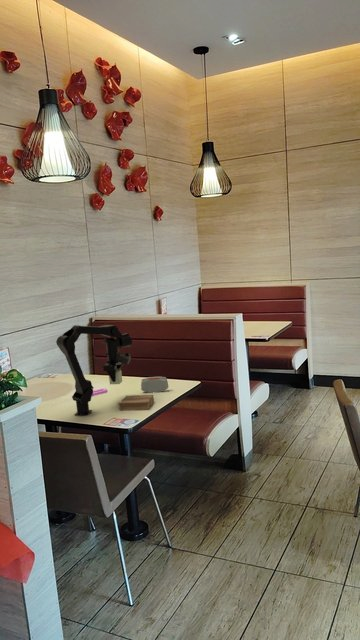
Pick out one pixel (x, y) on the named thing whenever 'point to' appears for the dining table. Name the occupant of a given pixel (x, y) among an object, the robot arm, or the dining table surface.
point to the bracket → (99, 392)
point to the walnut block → (136, 402)
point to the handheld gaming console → (154, 384)
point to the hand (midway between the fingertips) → (115, 380)
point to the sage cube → (117, 378)
